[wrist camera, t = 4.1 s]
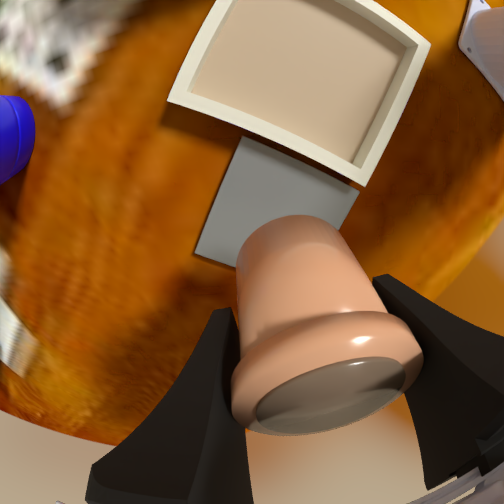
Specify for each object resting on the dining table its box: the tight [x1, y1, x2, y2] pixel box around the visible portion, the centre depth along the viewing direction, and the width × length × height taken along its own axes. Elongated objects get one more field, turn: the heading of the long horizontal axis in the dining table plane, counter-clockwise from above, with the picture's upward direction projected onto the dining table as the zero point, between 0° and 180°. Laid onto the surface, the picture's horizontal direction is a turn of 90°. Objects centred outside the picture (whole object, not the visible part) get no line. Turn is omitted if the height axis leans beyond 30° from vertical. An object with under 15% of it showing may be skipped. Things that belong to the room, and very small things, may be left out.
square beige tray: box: [167, 0, 431, 187], centre depth 12 cm, size 12×11×2 cm
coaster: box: [195, 135, 359, 267], centre depth 18 cm, size 8×8×1 cm
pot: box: [231, 215, 424, 436], centre depth 9 cm, size 5×5×6 cm
